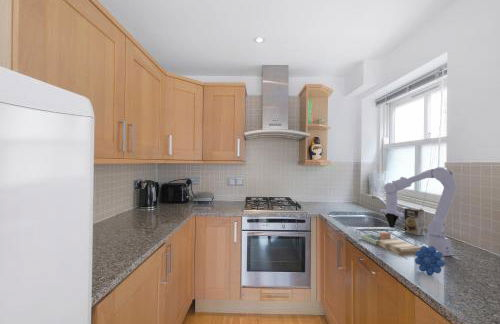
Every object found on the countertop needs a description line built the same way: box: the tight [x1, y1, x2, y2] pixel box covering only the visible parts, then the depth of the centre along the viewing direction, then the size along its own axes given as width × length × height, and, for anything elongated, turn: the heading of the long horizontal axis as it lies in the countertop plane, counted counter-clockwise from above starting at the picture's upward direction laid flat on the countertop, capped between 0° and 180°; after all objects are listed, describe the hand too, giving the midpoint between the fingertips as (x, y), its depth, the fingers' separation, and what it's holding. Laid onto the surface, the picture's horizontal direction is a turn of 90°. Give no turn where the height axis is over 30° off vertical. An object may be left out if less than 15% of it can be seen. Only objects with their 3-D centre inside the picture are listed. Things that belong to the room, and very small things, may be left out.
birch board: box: [377, 238, 422, 256], centre depth 133 cm, size 16×12×3 cm
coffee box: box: [404, 207, 425, 236], centre depth 166 cm, size 9×6×16 cm
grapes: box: [414, 245, 446, 276], centre depth 102 cm, size 12×7×12 cm, turn 20°
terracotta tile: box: [379, 231, 392, 240], centre depth 146 cm, size 5×5×2 cm
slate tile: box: [370, 233, 380, 240], centre depth 150 cm, size 5×5×2 cm
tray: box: [359, 233, 395, 246], centre depth 148 cm, size 13×14×2 cm
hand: (391, 227), depth 144 cm, fingers closed
